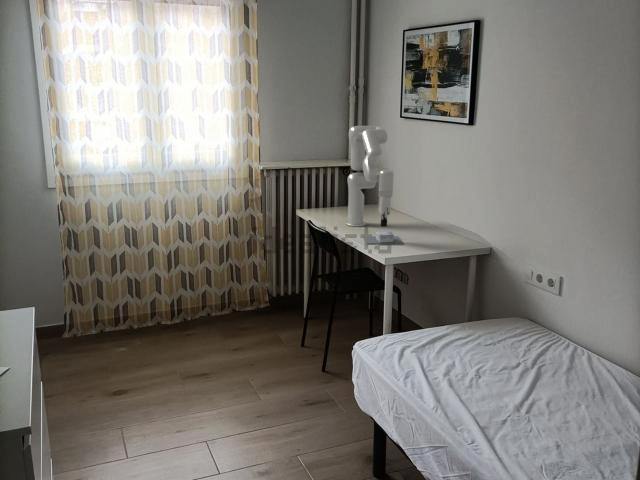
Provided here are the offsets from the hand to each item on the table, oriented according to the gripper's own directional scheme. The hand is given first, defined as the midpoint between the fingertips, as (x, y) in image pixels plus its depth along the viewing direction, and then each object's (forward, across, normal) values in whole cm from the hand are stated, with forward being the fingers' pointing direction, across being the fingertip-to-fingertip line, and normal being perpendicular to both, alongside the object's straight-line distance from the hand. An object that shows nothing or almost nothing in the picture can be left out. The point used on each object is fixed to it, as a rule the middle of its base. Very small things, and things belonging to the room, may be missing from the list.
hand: (383, 226), depth 328 cm
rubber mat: (+8, 0, 0) cm, 8 cm away
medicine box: (+5, -2, 0) cm, 6 cm away
